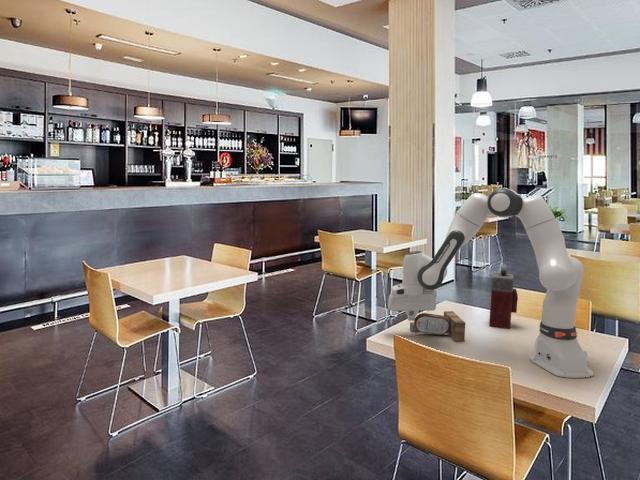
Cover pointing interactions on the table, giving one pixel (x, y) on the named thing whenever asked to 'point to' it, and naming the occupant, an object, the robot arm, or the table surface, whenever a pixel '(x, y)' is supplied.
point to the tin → (432, 324)
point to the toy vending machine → (502, 299)
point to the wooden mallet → (455, 328)
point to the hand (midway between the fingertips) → (411, 320)
